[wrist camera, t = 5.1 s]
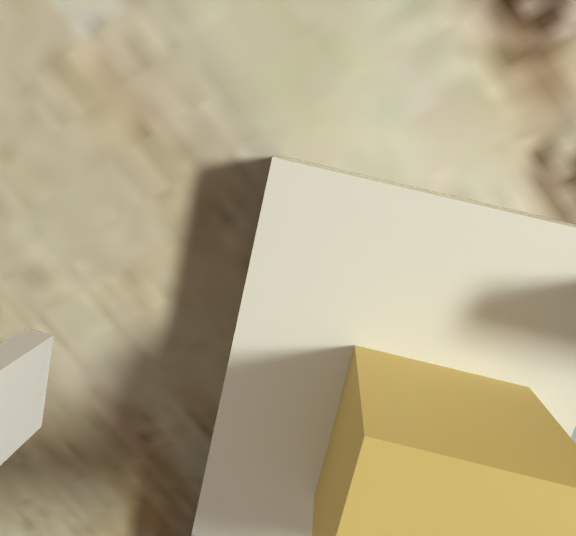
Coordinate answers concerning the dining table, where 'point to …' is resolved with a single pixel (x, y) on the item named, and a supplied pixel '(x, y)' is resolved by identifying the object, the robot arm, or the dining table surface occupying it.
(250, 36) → the dining table surface
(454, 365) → the board
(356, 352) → the block
